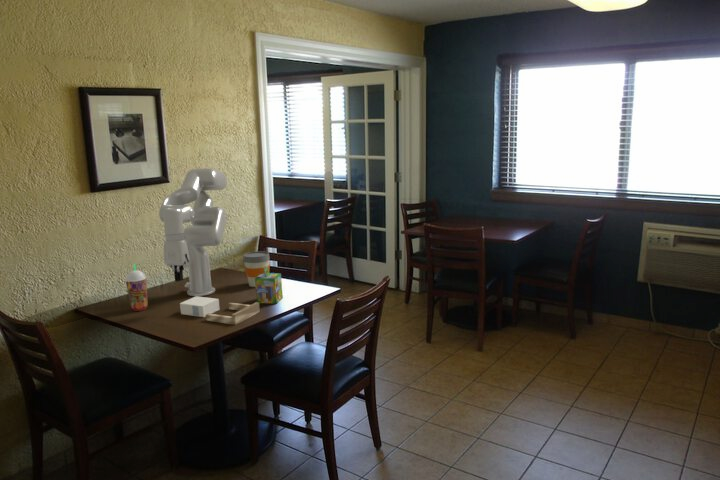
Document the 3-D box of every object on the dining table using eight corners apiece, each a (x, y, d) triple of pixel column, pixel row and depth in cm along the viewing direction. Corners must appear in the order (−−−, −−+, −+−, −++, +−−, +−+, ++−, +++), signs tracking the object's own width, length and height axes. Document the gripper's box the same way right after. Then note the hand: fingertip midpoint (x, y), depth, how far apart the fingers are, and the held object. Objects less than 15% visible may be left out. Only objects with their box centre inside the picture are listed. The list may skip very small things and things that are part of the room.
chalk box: (276, 304, 246) (274, 271, 243) (256, 303, 248) (253, 270, 245) (283, 297, 255) (281, 265, 252) (264, 297, 256) (261, 265, 253)
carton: (181, 314, 238) (179, 303, 237) (197, 307, 247) (196, 296, 246) (203, 318, 233) (202, 306, 232) (219, 310, 242) (218, 298, 241)
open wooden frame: (206, 320, 229) (205, 311, 228) (231, 308, 243) (230, 299, 242) (236, 324, 223) (235, 315, 222) (259, 311, 237) (258, 302, 236)
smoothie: (130, 313, 241) (124, 267, 237) (128, 308, 248) (122, 263, 244) (151, 309, 245) (145, 264, 241) (148, 304, 252) (143, 260, 248)
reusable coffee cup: (250, 289, 269) (247, 258, 266) (241, 283, 279) (239, 253, 276) (275, 285, 275) (273, 254, 272) (266, 279, 286) (263, 249, 282)
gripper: (154, 238, 237) (159, 281, 241) (182, 240, 231) (186, 284, 234) (167, 235, 244) (171, 277, 247) (195, 236, 238) (199, 279, 241)
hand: (179, 280), depth 241 cm, fingers closed
